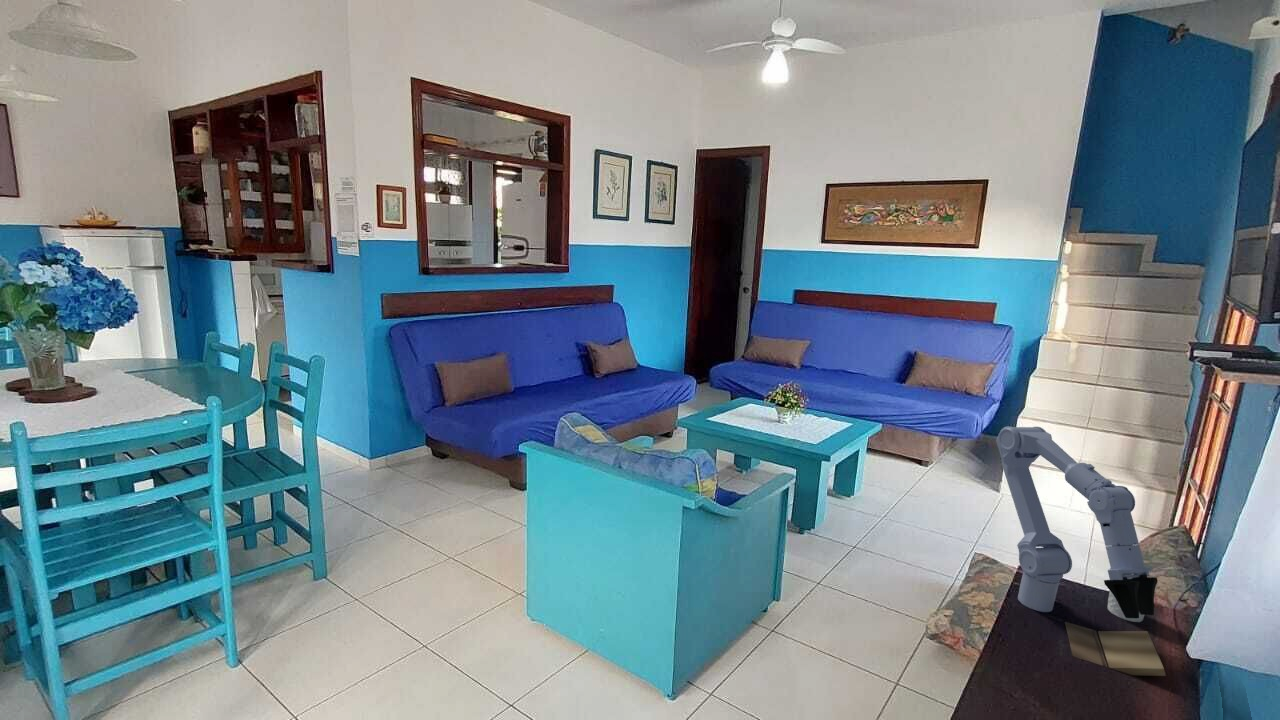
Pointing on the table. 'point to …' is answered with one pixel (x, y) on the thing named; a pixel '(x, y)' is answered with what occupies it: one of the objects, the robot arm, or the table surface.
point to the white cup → (1116, 609)
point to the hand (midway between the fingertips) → (1139, 616)
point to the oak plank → (1131, 652)
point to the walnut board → (1085, 644)
